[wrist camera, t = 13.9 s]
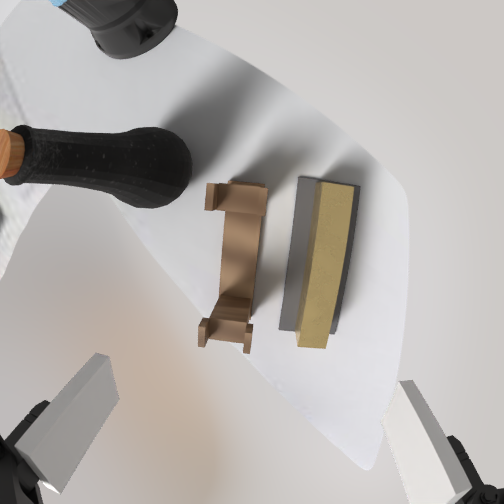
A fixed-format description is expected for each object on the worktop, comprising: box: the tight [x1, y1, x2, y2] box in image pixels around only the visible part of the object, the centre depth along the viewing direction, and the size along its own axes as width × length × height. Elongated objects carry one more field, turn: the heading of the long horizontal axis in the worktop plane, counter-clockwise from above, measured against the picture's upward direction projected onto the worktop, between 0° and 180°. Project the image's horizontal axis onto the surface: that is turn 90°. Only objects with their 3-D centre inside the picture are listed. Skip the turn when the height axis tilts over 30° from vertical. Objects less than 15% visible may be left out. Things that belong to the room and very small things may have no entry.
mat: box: [279, 177, 360, 334], centre depth 41 cm, size 23×9×1 cm, turn 174°
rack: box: [198, 181, 268, 354], centre depth 36 cm, size 20×6×11 cm, turn 174°
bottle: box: [0, 125, 192, 209], centre depth 25 cm, size 11×11×30 cm
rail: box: [295, 182, 354, 349], centre depth 38 cm, size 22×4×6 cm, turn 174°
